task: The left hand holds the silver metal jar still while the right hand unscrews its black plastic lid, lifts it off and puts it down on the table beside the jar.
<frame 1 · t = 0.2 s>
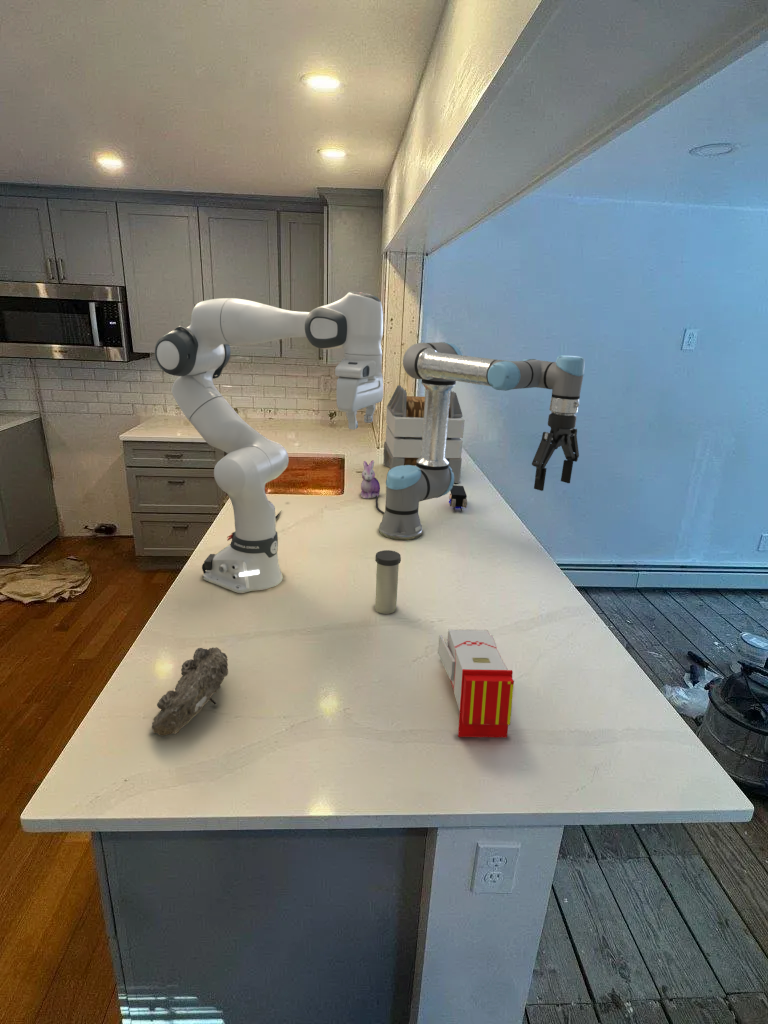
left hand: (360, 425, 136), 48 cm above the counter, tool pointing down, fingers open, 8 cm apart
right hand: (552, 485, 166), 28 cm above the counter, tool pointing down, fingers open, 13 cm apart
fossil: (197, 702, 112), on the counter
figurine character: (456, 507, 229), on the counter
feather: (279, 514, 213), on the counter
figurine: (369, 495, 239), on the counter
toy: (469, 691, 119), on the counter
jar: (385, 608, 150), on the counter
lid: (388, 556, 145), point 15 cm above the counter, screwed on, not yet turned
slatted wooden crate: (419, 473, 275), on the counter
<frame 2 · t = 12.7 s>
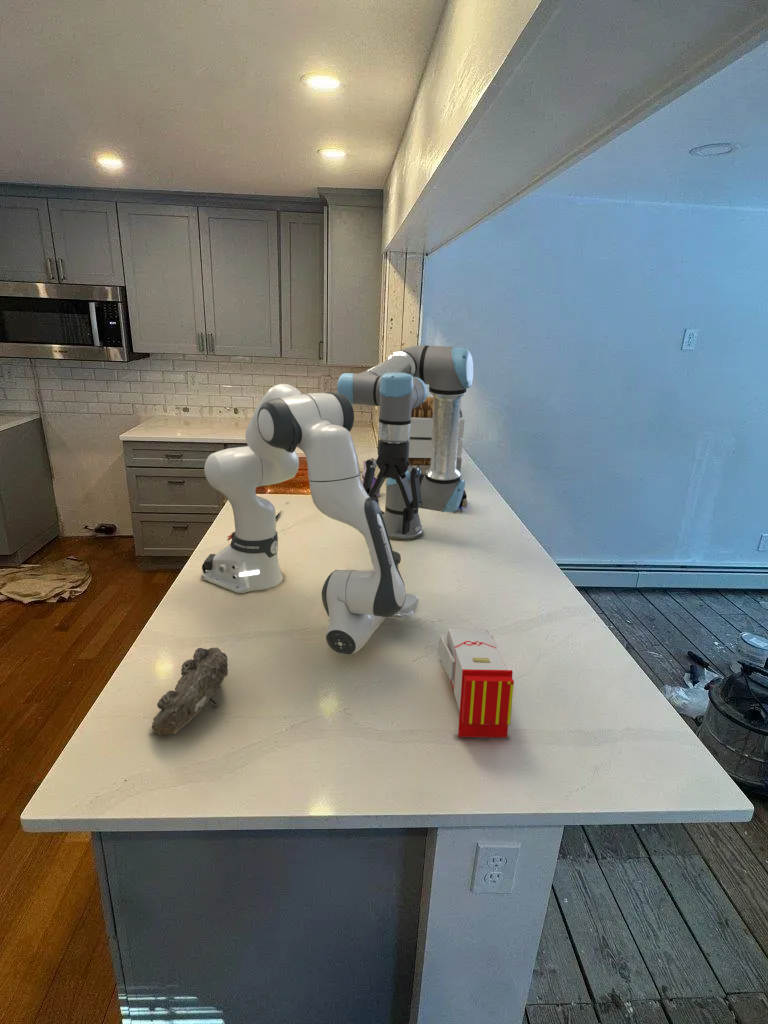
left hand: (387, 586, 149), 6 cm above the counter, tool horizontal, fingers closed on jar, 5 cm apart
right hand: (389, 528, 142), 23 cm above the counter, tool pointing down, fingers open, 8 cm apart
jar: (385, 608, 150), on the counter, touching left hand
everything else where it was.
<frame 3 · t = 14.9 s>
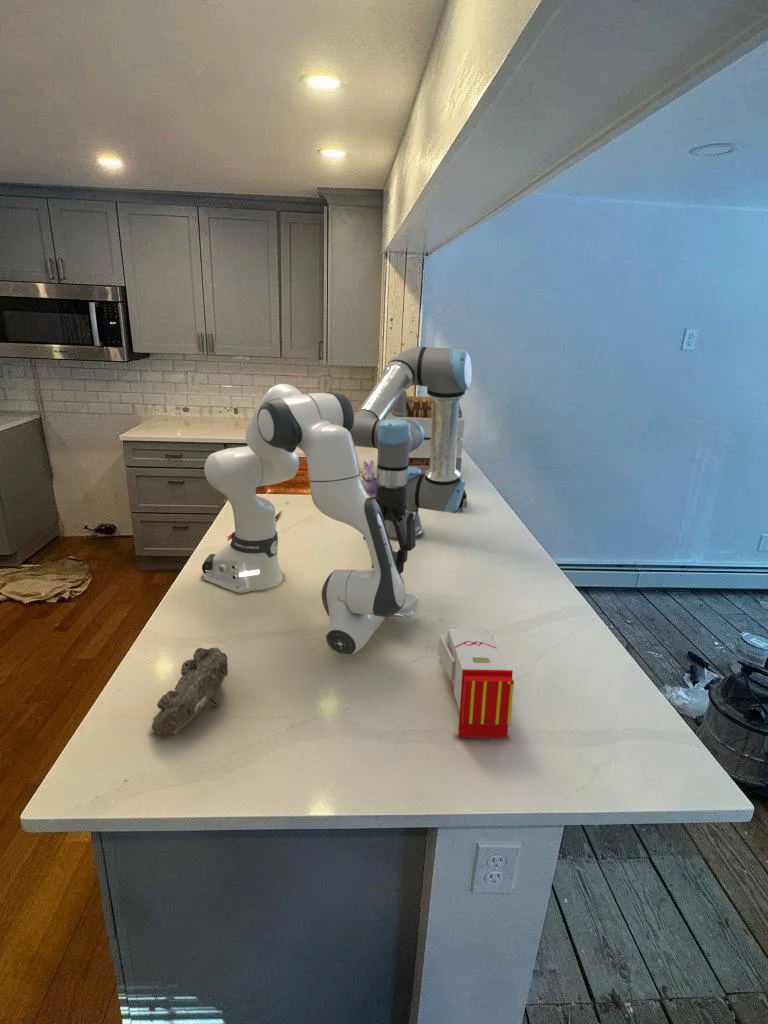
left hand: (387, 586, 149), 6 cm above the counter, tool horizontal, fingers closed on jar, 5 cm apart
right hand: (387, 569, 146), 11 cm above the counter, tool pointing down, fingers closed on lid, 6 cm apart
jar: (385, 608, 150), on the counter, touching left hand
lid: (388, 556, 145), point 15 cm above the counter, screwed on, not yet turned, touching right hand
everything else where it was.
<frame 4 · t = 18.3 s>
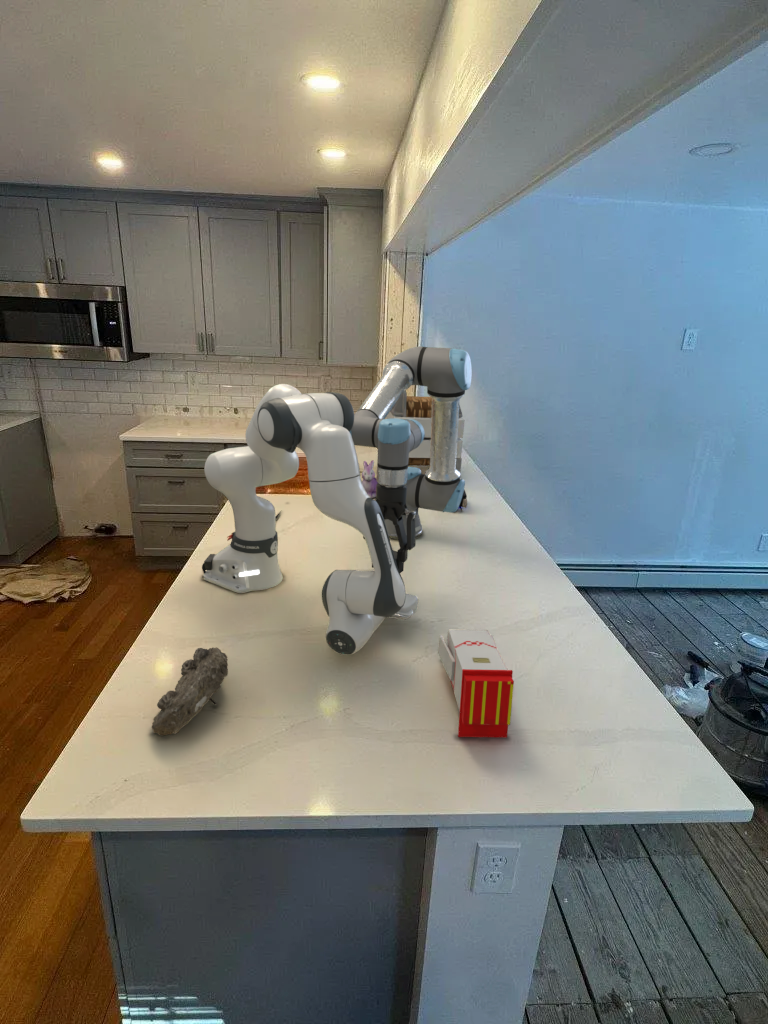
left hand: (387, 586, 149), 6 cm above the counter, tool horizontal, fingers closed on jar, 5 cm apart
right hand: (387, 568, 146), 12 cm above the counter, tool pointing down, fingers closed on lid, 6 cm apart
jar: (385, 608, 150), on the counter, touching left hand
lid: (388, 555, 145), point 15 cm above the counter, turned 112° so far, risen 0.2 cm, still on its thread, touching right hand
everything else where it was.
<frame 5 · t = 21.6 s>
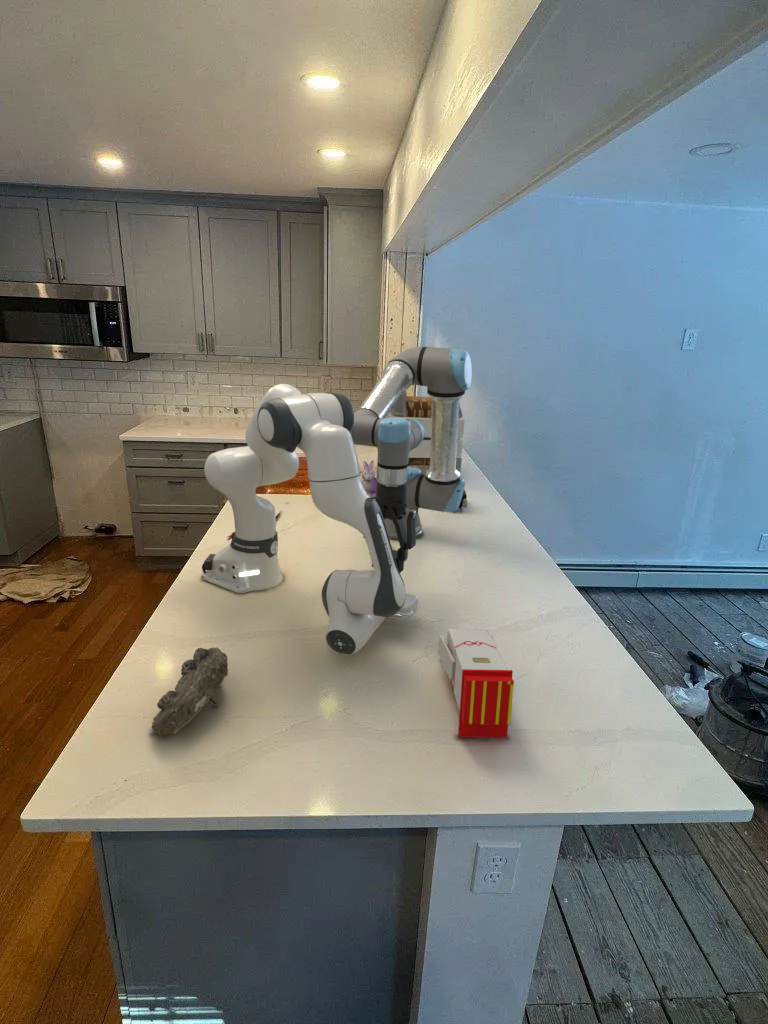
left hand: (387, 586, 149), 6 cm above the counter, tool horizontal, fingers closed on jar, 5 cm apart
right hand: (387, 568, 146), 12 cm above the counter, tool pointing down, fingers closed on lid, 6 cm apart
jar: (385, 608, 150), on the counter, touching left hand
lid: (388, 555, 145), point 15 cm above the counter, turned 225° so far, risen 0.4 cm, still on its thread, touching right hand
everything else where it was.
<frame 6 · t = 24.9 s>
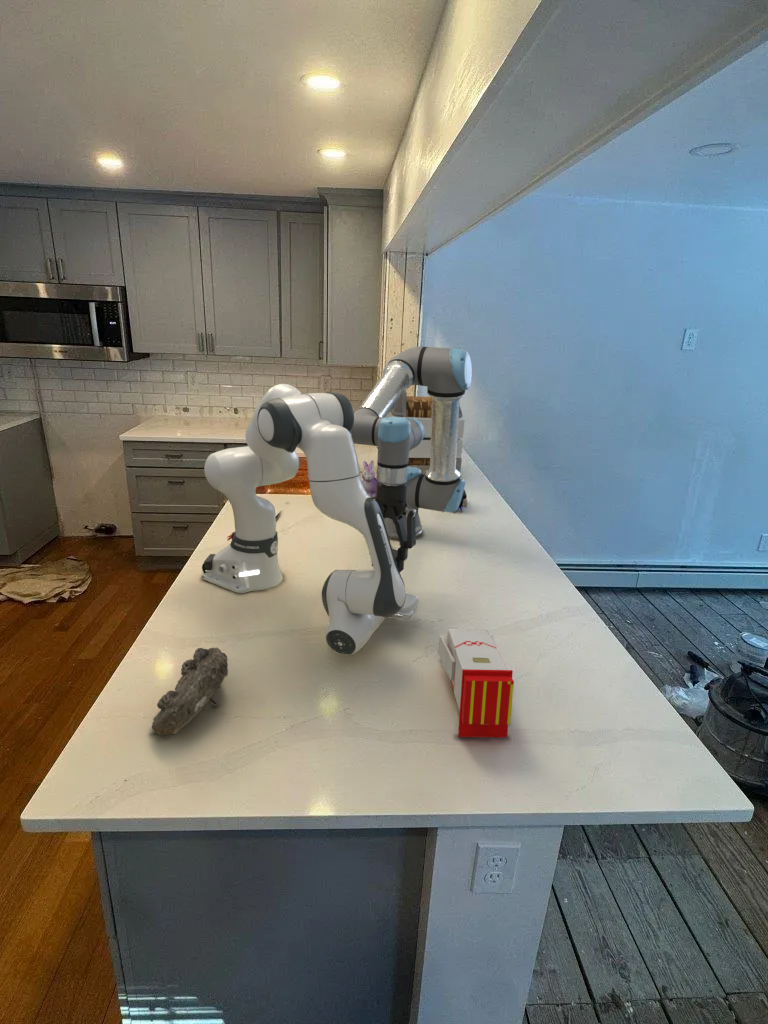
left hand: (387, 586, 149), 6 cm above the counter, tool horizontal, fingers closed on jar, 5 cm apart
right hand: (387, 567, 146), 12 cm above the counter, tool pointing down, fingers closed on lid, 6 cm apart
jar: (385, 608, 150), on the counter, touching left hand
lid: (388, 554, 145), point 16 cm above the counter, turned 337° so far, risen 0.6 cm, still on its thread, touching right hand
everything else where it was.
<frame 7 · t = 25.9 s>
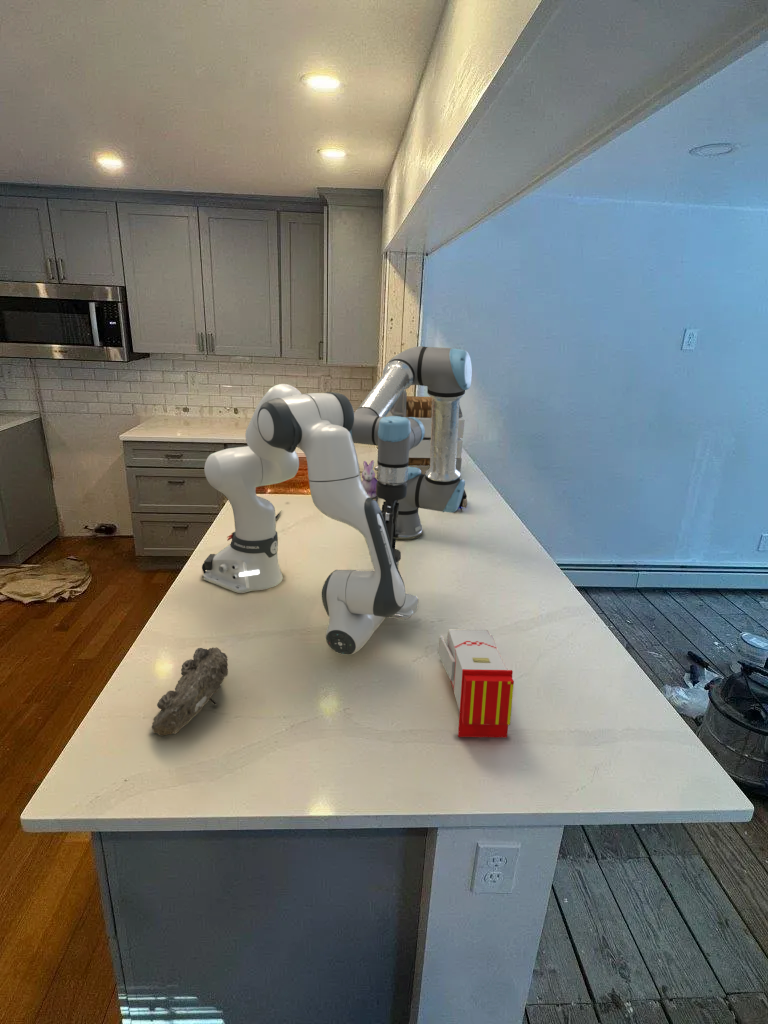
left hand: (387, 586, 149), 6 cm above the counter, tool horizontal, fingers closed on jar, 5 cm apart
right hand: (387, 566, 146), 12 cm above the counter, tool pointing down, fingers closed on lid, 6 cm apart
jar: (385, 608, 150), on the counter, touching left hand
lid: (388, 553, 145), point 16 cm above the counter, off its thread, touching right hand
everything else where it was.
when the right hand's fingers open (0 cm above the counter, at t = 30.6 s): lid drops 3 cm, point 1 cm above the counter.
when the left hand's fingers open (6 cm above the counter, at t = 32.4 s): jar stays where it is, on the counter.
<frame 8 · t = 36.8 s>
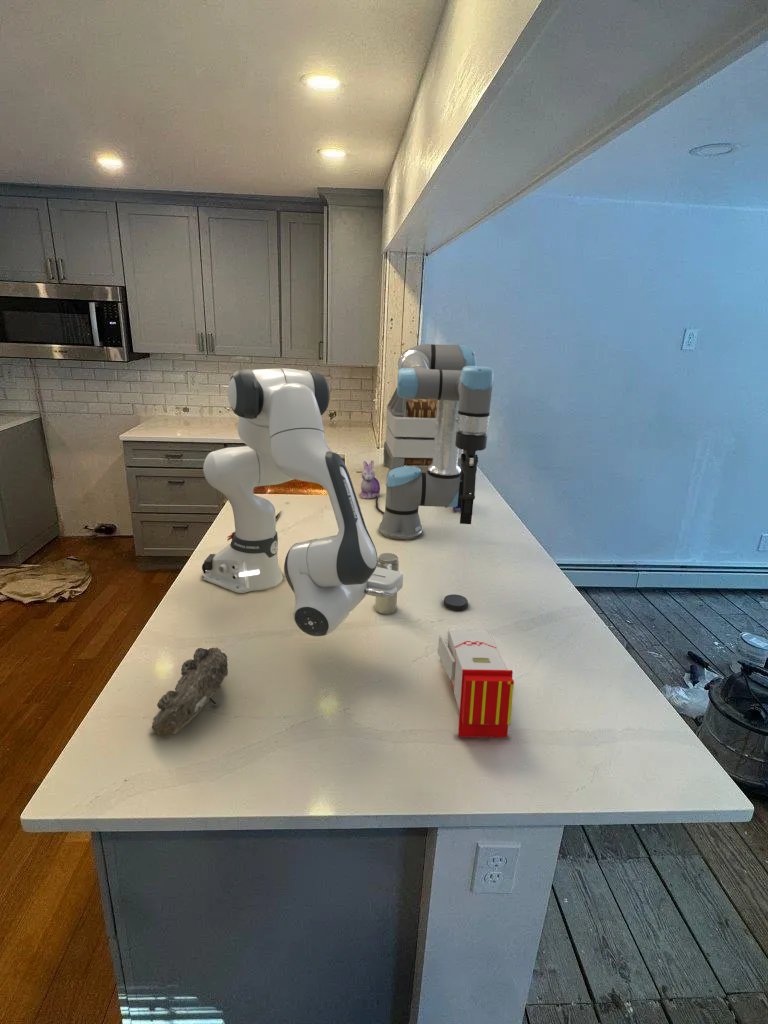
left hand: (369, 562, 132), 19 cm above the counter, tool horizontal, fingers open, 8 cm apart
right hand: (463, 514, 145), 26 cm above the counter, tool pointing down, fingers open, 13 cm apart
jar: (385, 608, 150), on the counter
lid: (455, 601, 153), point 1 cm above the counter, off its thread
everything else where it was.
at the end: lid came off its thread; lid point 1.2 cm above the counter; the left hand is holding nothing; the right hand is holding nothing; jar tilted 0°; jar moved 0.0 cm from its start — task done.
